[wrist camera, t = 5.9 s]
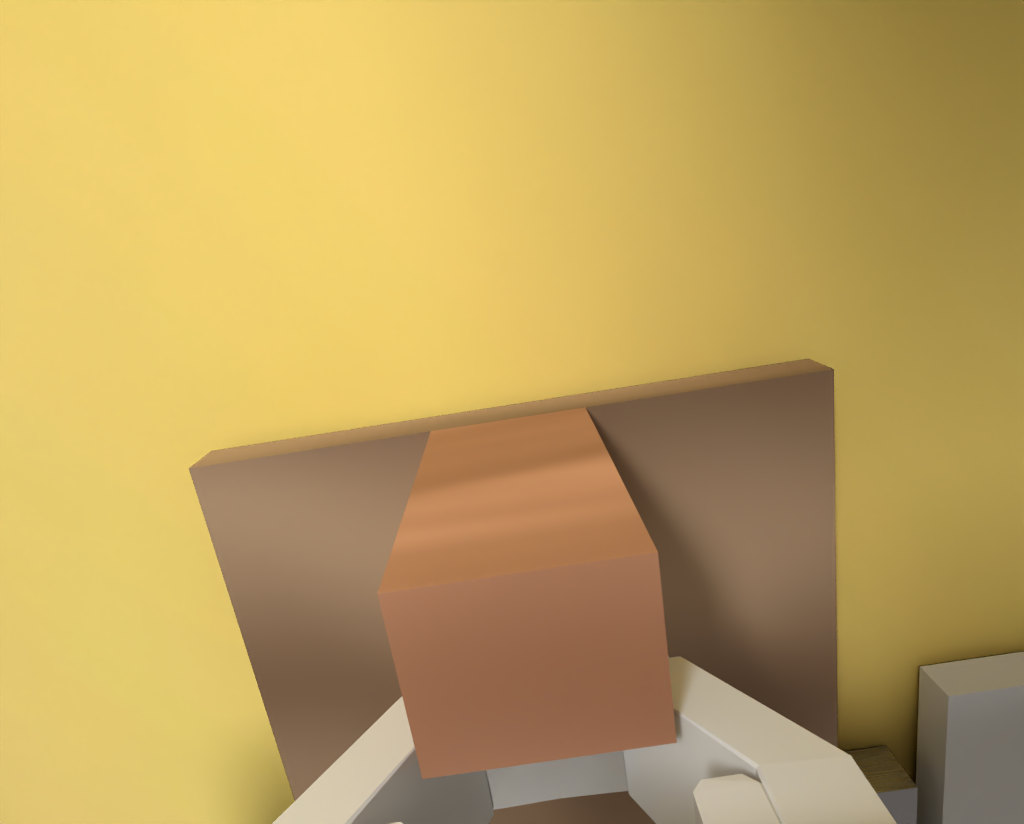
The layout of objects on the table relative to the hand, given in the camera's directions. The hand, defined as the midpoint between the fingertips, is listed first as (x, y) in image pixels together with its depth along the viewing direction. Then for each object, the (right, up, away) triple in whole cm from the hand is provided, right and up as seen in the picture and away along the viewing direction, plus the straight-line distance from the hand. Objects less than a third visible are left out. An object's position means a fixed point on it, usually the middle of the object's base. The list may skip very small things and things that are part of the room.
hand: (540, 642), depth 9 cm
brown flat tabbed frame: (+1, -6, +4) cm, 8 cm away
